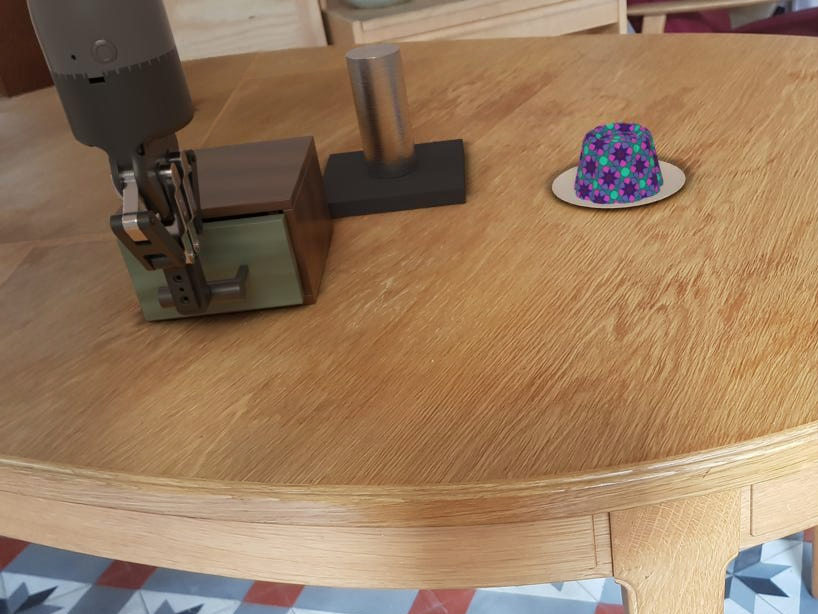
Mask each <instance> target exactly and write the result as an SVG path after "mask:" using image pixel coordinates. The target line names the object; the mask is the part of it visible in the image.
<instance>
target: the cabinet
mask: <svg viewBox="0 0 818 614" xmlns="http://www.w3.org/2000/svg"><path fill="white" fill-rule="evenodd" d="M192 150H193V151H194V153H195V155H196V158H197V172H198V183H199V193H200V204H201V214H202V219H209V218H217V217H226V216H234V215H243V214H251V213H260V212H268V211H277V210H283V214H284V215H285V219H286V223H287V227H288V231H289V235H290V239H291V243H292V247H293V251H294V255H295V259H296V263H297V267H298V271H299V275H300V280H301V284H302V288H303V292H304V296H305V297H304V301H303V303H302V304H294V305H285V306H276V307H267V308H258V309H249V310H240V311H231V312H222V313H213V314H204V315H195V316H186V317H177V318H169V319H160V320H151V321H147V322H148V323H152V322H161V321H170V320H179V319H189V318H198V317H206V316H215V315H216V316H217V315H224V314H232V313H241V312H242V313H243V312H251V311H260V310H261V311H262V310H269V309H277V308H285V307H287V308H288V307H294V306H295V307H296V306H304V305H314V304H316V302H317V299H318V294H319V290H320V286H321V281H322V278H323V273H324V270H325V266H326V261H327V258H328V254H329V249H330V246H331V241H332V237H333V233H334V225H333V221H332V218H331V215H330V211H329V206H328V202H327V197H326V192H325V188H324V183H323V174H322V169H321V164H320V160H319V156H318V151H317V147H316V141H315V137H314V135H313V134H312V135H304V136H295V137H289V138H288V137H287V138H279V139H270V140H262V141H254V142H246V143H238V144H229V145H222V146H213V147H204V148H196V149H192ZM116 214H123V203H122V204H121V205H120V206H119V207H118V209H117V210H116V212H115V213H114V215H116Z"/></svg>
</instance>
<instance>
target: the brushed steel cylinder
mask: <svg viewBox="0 0 818 614" xmlns="http://www.w3.org/2000/svg"><path fill="white" fill-rule="evenodd" d="M345 61H346V66H347V71H348V76H349V82H350V87H351V93H352V99H353V103H354V104H353V105H354V108H355V114H356V120H357V125H358V131H359V136H360V137H359V138H360V141H361V146H362V150H363V153H364V158H365V164H366V169H367V174H368V175H369V176H370V177H373V178H377V179H391V178H397V177H401V176H405V175H407V174H410V173H412V172H413V171H415V170H416V169H417V166H418V165H417V158H416V152H415V145H414V144H415V140H414V133H413V126H412V119H411V111H410V107H409V100H408V93H407V86H406V80H405V74H404V73H405V72H404V66H403V60H402V53H401V46H400V45H398V44H396V43H390V42H389V43H388V42H387V43H386V42H385V43H372V44H367V45H361V46H358V47H355V48H353V49H350V50H348V51H346V53H345Z"/></svg>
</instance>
